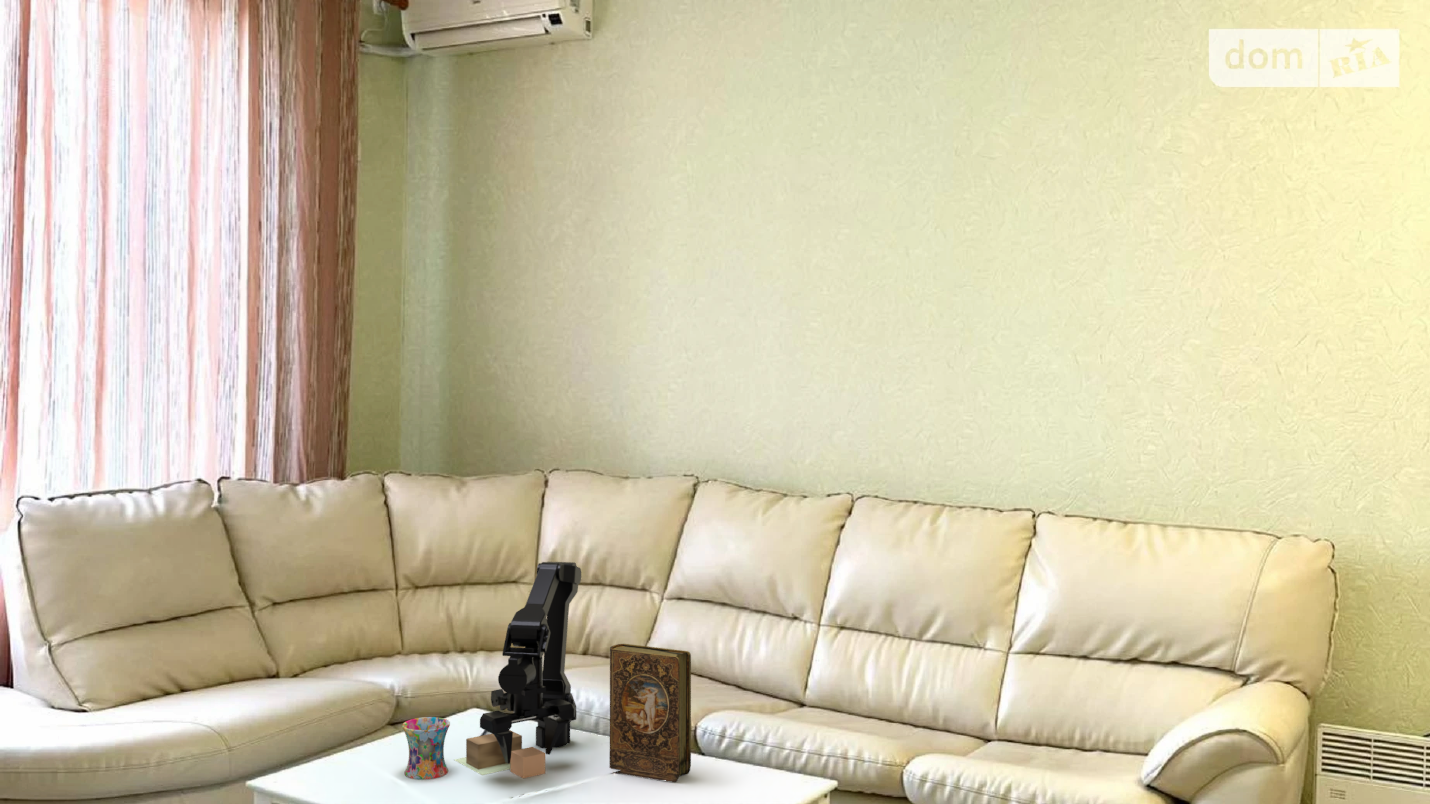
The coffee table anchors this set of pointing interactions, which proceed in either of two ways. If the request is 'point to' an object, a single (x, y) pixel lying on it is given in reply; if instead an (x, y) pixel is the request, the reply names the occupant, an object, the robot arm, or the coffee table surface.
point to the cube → (527, 762)
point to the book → (650, 711)
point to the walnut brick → (488, 750)
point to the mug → (426, 747)
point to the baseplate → (485, 770)
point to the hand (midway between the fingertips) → (528, 758)
